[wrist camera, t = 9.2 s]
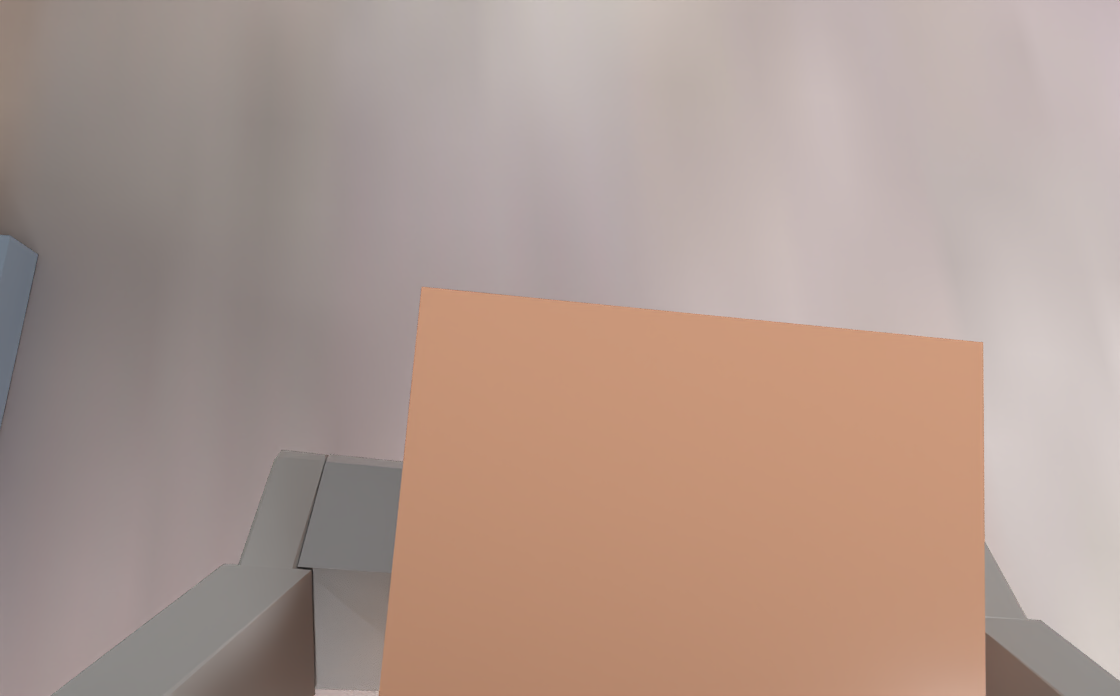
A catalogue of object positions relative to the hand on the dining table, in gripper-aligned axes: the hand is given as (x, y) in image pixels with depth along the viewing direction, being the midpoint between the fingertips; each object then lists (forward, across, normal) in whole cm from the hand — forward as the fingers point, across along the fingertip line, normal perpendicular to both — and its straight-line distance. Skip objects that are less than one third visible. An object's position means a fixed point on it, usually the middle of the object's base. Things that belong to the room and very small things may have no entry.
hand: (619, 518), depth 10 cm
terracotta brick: (+3, 0, -4) cm, 4 cm away
